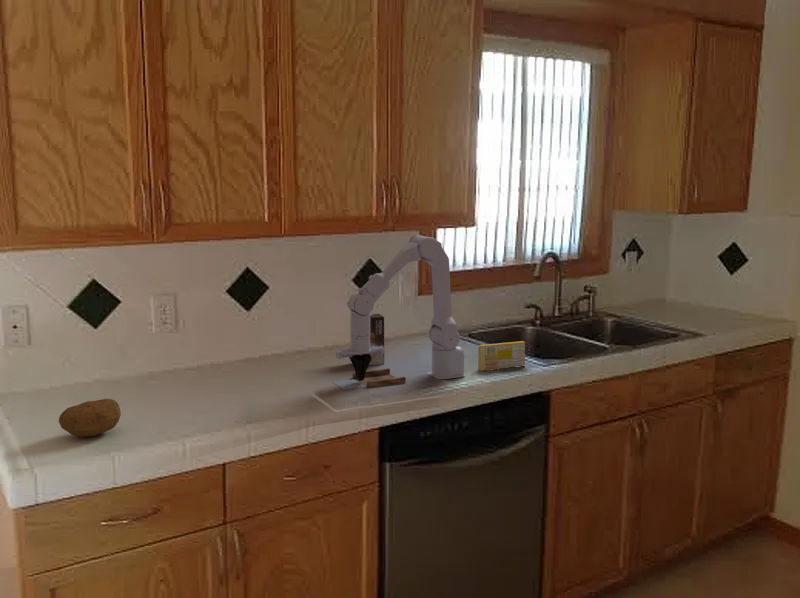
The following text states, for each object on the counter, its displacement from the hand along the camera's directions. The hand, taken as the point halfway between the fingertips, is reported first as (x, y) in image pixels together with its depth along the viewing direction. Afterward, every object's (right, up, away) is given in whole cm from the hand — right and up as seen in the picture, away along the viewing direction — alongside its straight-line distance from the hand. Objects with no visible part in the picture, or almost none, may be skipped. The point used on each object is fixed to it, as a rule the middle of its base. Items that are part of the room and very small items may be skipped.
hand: (360, 379), depth 228 cm
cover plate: (-3, -2, -1) cm, 4 cm away
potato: (-61, -9, -44) cm, 76 cm away
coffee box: (+2, +2, +23) cm, 23 cm away
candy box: (+44, +1, +21) cm, 49 cm away
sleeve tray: (+5, -1, +3) cm, 6 cm away
